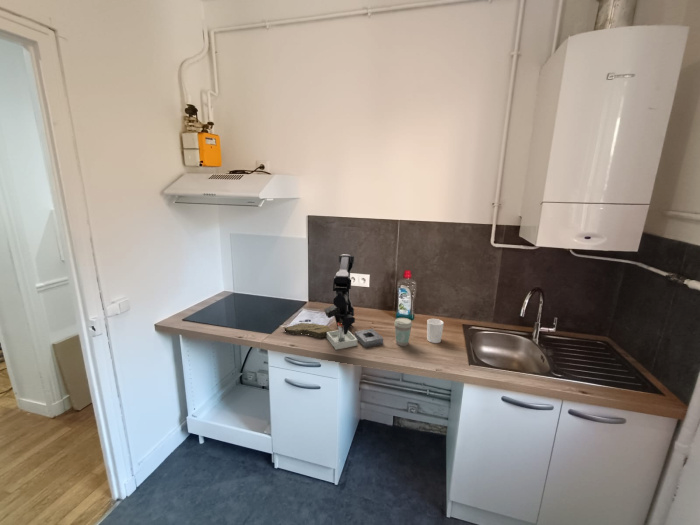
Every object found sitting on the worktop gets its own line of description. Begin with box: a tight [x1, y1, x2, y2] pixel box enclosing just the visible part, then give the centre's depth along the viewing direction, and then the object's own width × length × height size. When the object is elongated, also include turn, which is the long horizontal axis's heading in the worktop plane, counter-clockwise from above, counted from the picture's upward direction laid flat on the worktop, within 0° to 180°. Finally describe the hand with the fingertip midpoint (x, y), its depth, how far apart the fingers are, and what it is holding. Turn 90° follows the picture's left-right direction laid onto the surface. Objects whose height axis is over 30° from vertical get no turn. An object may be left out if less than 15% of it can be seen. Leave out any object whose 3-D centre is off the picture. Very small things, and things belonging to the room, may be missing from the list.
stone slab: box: [282, 322, 333, 339], centre depth 162 cm, size 27×12×5 cm, turn 79°
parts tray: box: [326, 329, 358, 350], centre depth 152 cm, size 13×11×3 cm
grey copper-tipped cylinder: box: [336, 321, 345, 342], centre depth 151 cm, size 4×4×9 cm
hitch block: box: [354, 328, 384, 348], centre depth 154 cm, size 12×10×3 cm
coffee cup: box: [393, 317, 413, 347], centre depth 150 cm, size 8×9×12 cm
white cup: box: [426, 318, 444, 344], centre depth 154 cm, size 8×8×10 cm
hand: (341, 330), depth 151 cm, fingers open, 9 cm apart
